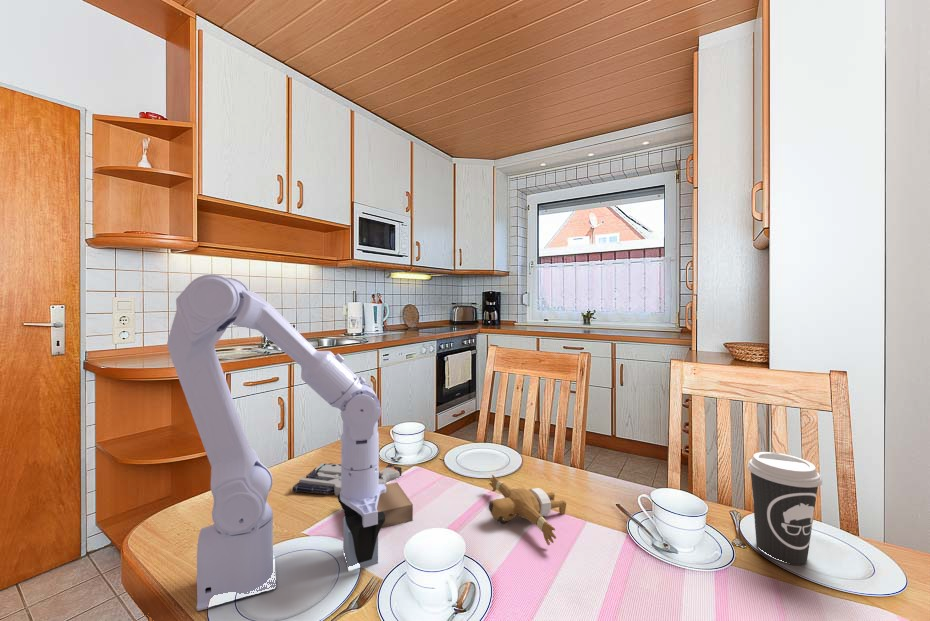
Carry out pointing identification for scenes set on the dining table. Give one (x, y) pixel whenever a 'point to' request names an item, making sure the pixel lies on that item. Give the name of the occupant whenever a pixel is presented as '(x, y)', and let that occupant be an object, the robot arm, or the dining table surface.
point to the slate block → (350, 550)
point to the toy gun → (336, 479)
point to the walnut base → (395, 505)
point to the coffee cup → (783, 504)
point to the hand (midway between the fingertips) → (360, 548)
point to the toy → (525, 506)
